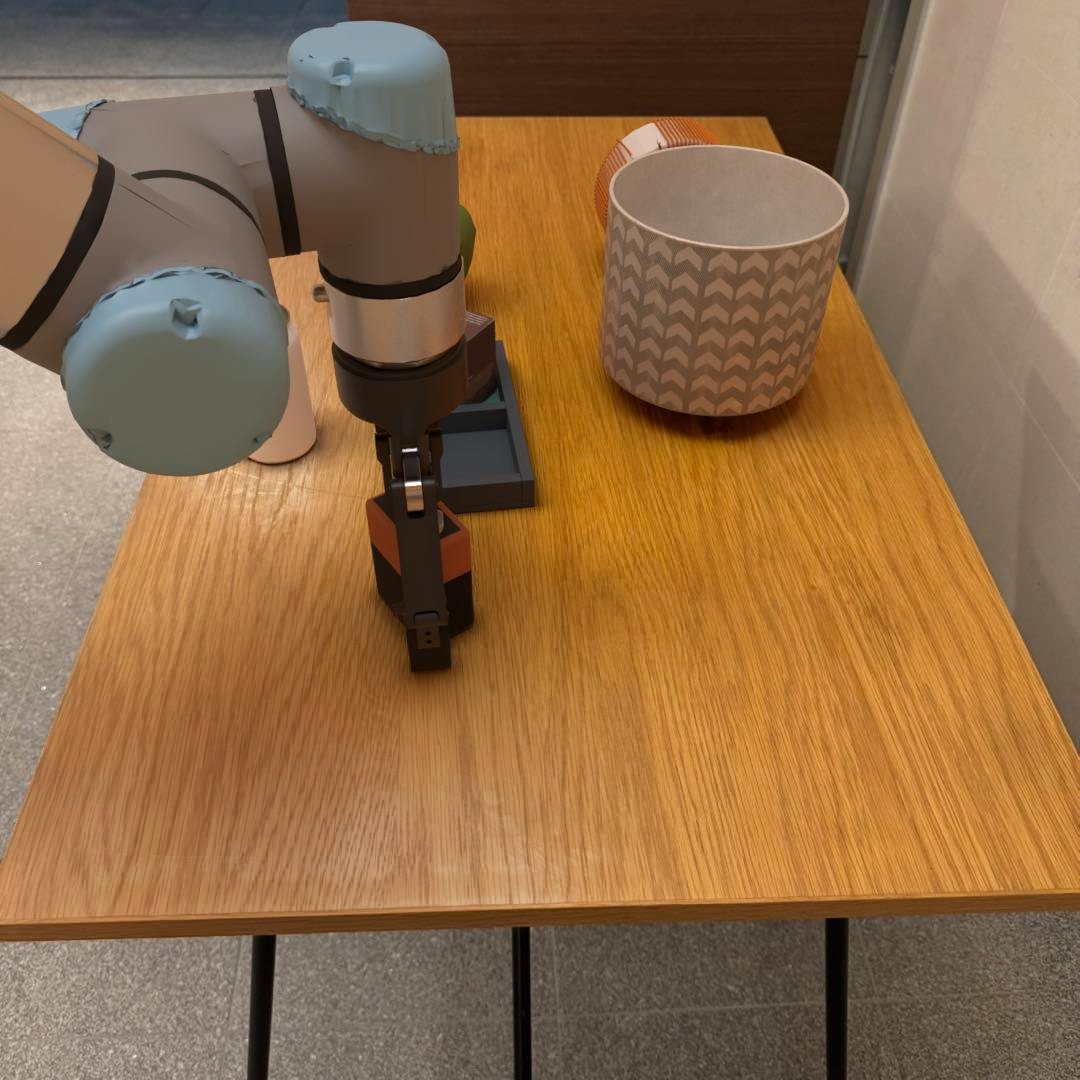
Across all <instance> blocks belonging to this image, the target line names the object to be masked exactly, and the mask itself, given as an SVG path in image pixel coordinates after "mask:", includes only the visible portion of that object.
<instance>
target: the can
mask: <svg viewBox="0 0 1080 1080" xmlns="http://www.w3.org/2000/svg"><path fill="white" fill-rule="evenodd" d="M279 305H280V307H281V310H282V312H283V314H284V318H285V321H286V324H287V328H288V341H289V345H288V361H289V374H290V392H289V398H288V404H287V407H286V409H285V412H284V415H283V417H282V419H281V421H280V423H279V425H278V427H277V428H276V429H275V430H274V432H273V434H272V437H271V438H269V439H268V440H267V441H266V442H265V443H264V444H263V445H262V446H261V448H259V449H258V450H257V451H255V452H254V453H253V454H251V455H250V456H248V457H247V458H250V459H251V460H253V461H255V462H257V463H261V464H265V465H279V464H285V463H289V462H292V461H296V460H297V459H299V458H302V457H303V456H304V455H305V454H307V453H308V452H309V451H310V449H311V448H312V447H313V446H314V445H315V442H316V440H317V428H316V423H315V417H314V416H315V415H314V410H313V405H312V399H311V393H310V388H309V382H308V376H307V370H306V365H305V360H304V354H303V348H302V343H301V338H300V332H299V330H298V327H297V325H296V323H295V322H294V321H293V320H292V318H291V313H290V311H289V309H288V308H287V307H286V306H285V305H284V304H281V303H279Z"/></svg>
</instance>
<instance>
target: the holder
mask: <svg viewBox="0 0 1080 1080" xmlns="http://www.w3.org/2000/svg"><path fill="white" fill-rule="evenodd" d="M496 370H497V389H496V390H495V391H494V392H493V393H491V395H489V396H488V397H487V398H486V399H484V400H483V401H482V402H481V403H479V404H466V405H459V406H458V407H457V408H456V409H455V410H453V411H452V412H451V413H449V414H448V415H446V416H445V417H442V418H440V419H439V428H441V431H442V441H443V456H442V457H441V459H440V466H441V477H442V488H443V498H442V499H441V500H440V501H441V502H442V503H443V504H444V505H445V506H446V507H447V508H448V509H449V510H450V511H451V512H452V513H453V514H454V515H455V514H463V513H475V512H477V513H478V512H488V511H497V510H509V509H518V508H530V507H535V491H536V489H535V487H536V486H535V483H536V482H535V481H536V480H535V475H534V471H533V466H532V463H531V458H530V457H531V456H530V453H529V449H528V445H527V441H526V435H525V431H524V427H523V424H522V419H521V415H520V410H519V406H518V401H517V397H516V393H515V389H514V385H513V384H514V383H513V381H512V376H511V371H510V368H509V362H508V359H507V354H506V350H505V346H504V340H503V339H497V340H496ZM429 453H430V452H429ZM430 462H431V453H430Z"/></svg>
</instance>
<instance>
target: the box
mask: <svg viewBox="0 0 1080 1080" xmlns="http://www.w3.org/2000/svg"><path fill="white" fill-rule="evenodd" d="M466 320H467V323H466V329H465V333H464V334H465V337H466V345H467V366H468V389H467V393H466V395H465V397H464V399H463V401H462V402H461V403H460V405H466V404H479V403H481V402H482V401H483V400H484V399H486V398H487V397H488V396H489V395H491V393H493V392H494V391H495V390H496V389H497V370H496V318H493V317H491V316H488V315H485V314H482V313H479V312H475V311H473V310H470V309H467V308H466Z"/></svg>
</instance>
